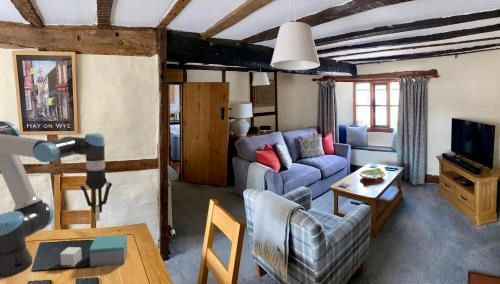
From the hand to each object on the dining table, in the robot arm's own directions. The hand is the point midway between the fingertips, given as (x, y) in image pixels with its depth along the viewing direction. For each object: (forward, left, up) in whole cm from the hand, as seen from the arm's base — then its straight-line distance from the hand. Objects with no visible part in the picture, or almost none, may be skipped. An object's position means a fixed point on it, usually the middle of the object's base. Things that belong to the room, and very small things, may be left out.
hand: (97, 219), depth 144 cm
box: (+4, 0, -20) cm, 20 cm away
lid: (+4, 0, -12) cm, 13 cm away
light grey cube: (-12, 0, -20) cm, 23 cm away
